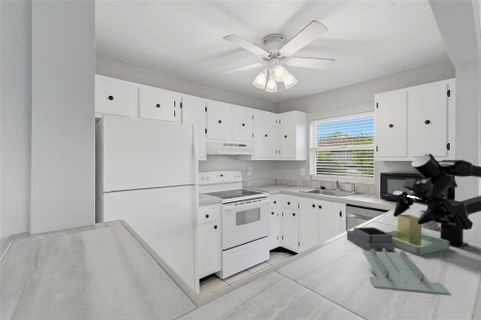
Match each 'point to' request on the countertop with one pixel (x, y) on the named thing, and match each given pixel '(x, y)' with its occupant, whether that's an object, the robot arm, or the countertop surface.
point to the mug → (429, 224)
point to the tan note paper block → (409, 229)
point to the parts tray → (426, 247)
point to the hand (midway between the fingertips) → (405, 219)
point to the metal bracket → (400, 273)
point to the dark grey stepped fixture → (371, 239)
